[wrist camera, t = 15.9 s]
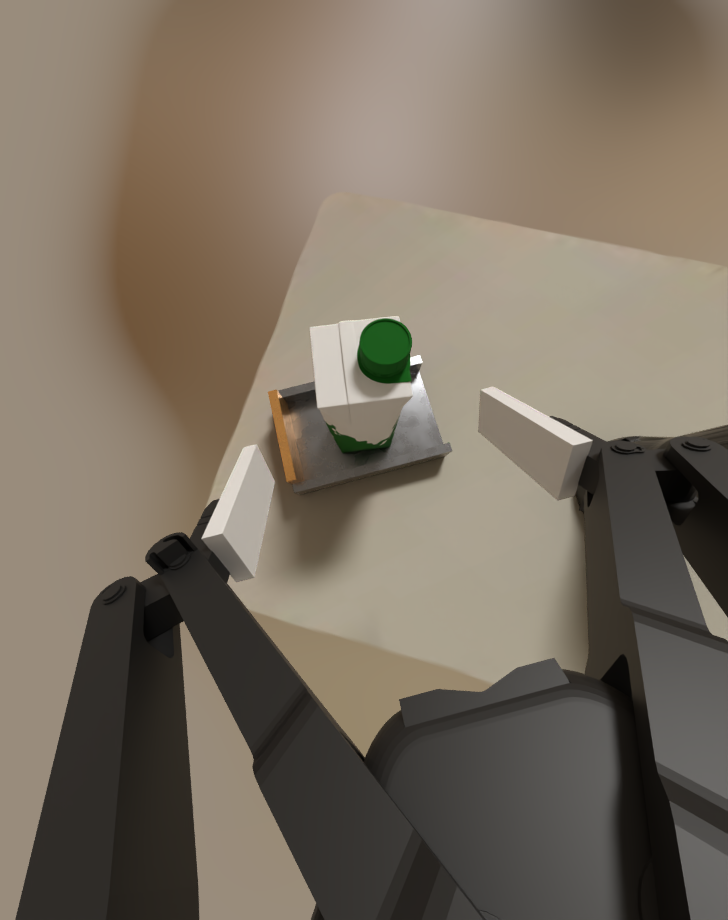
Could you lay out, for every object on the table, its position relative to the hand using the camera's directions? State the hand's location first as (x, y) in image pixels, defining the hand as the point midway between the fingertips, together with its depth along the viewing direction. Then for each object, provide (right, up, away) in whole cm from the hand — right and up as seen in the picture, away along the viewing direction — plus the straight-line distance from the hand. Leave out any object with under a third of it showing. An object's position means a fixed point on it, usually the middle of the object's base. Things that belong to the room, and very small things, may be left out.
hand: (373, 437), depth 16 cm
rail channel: (-1, +3, +25) cm, 25 cm away
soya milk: (-1, +3, +24) cm, 25 cm away
